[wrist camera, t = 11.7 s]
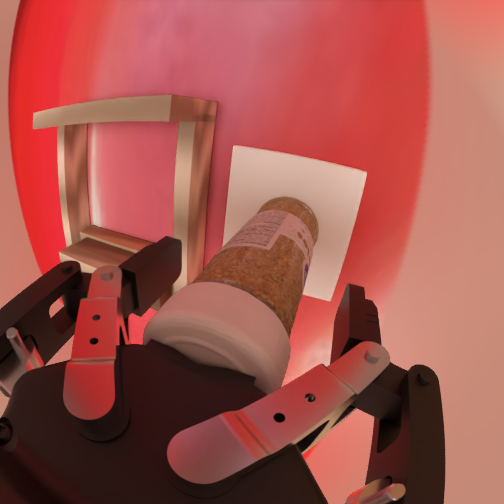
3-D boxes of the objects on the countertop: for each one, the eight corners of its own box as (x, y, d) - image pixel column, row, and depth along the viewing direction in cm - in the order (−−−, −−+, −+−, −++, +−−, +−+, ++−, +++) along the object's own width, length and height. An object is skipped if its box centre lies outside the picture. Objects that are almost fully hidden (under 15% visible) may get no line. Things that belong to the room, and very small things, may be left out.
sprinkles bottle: (322, 254, 19) (286, 428, 7) (260, 258, 21) (168, 406, 9) (314, 190, 17) (263, 321, 6) (249, 198, 19) (115, 311, 7)
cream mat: (237, 144, 18) (233, 145, 18) (366, 171, 17) (367, 172, 16) (224, 267, 23) (220, 272, 22) (330, 295, 21) (330, 301, 20)
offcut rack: (81, 107, 21) (33, 112, 15) (217, 102, 17) (171, 94, 12) (88, 254, 28) (51, 278, 23) (202, 295, 25) (169, 335, 20)
